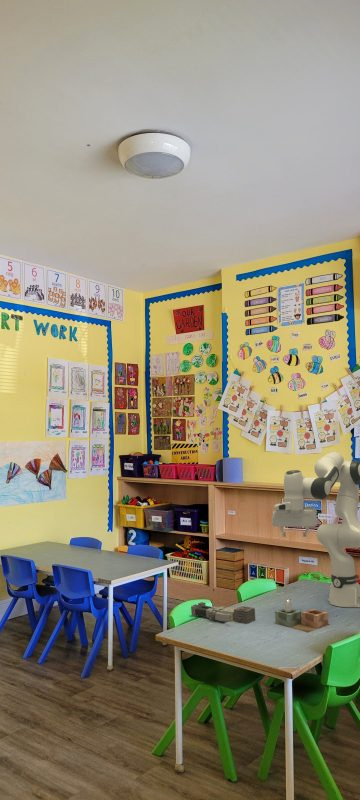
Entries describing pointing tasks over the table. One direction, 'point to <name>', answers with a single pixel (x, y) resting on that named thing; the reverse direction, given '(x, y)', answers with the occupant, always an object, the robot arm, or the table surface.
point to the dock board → (302, 619)
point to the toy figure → (224, 613)
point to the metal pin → (287, 605)
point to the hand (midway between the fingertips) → (294, 536)
